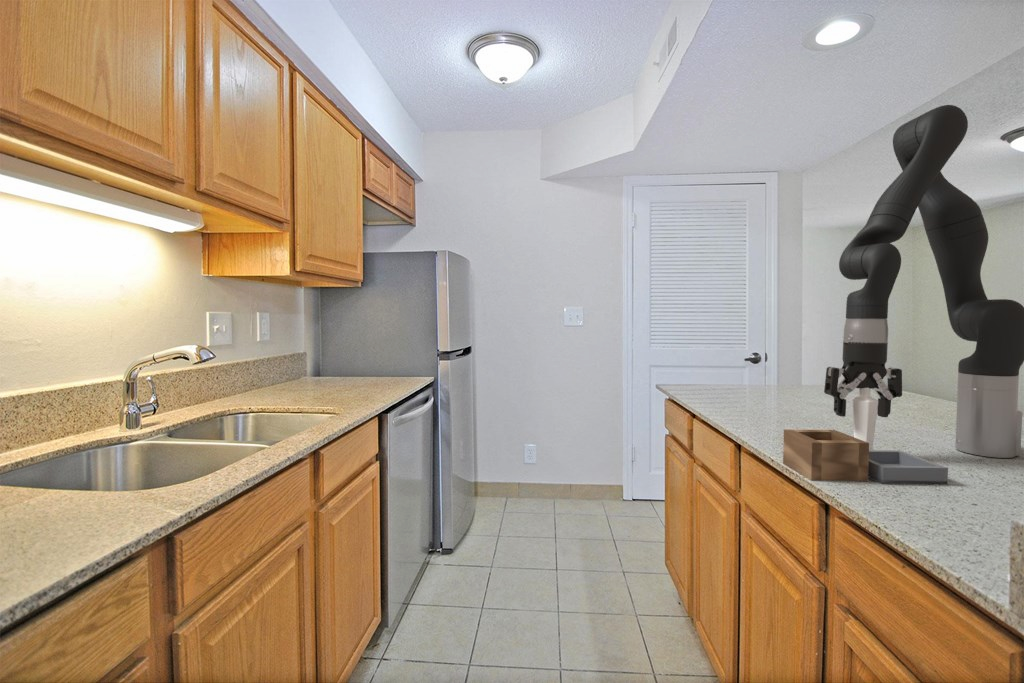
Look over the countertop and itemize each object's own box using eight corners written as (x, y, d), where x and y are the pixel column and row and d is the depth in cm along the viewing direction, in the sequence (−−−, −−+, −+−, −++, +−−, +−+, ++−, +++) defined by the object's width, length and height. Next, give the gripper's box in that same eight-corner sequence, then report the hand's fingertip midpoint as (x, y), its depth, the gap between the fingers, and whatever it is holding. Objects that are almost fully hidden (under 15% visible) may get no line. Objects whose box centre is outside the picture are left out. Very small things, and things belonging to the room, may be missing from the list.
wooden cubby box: (833, 463, 95) (834, 429, 95) (868, 480, 85) (869, 443, 85) (783, 463, 96) (783, 429, 95) (811, 480, 86) (812, 442, 85)
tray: (899, 465, 94) (900, 450, 94) (947, 484, 83) (948, 468, 83) (843, 464, 95) (843, 450, 94) (882, 483, 84) (883, 467, 83)
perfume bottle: (854, 459, 98) (856, 388, 97) (846, 453, 102) (848, 385, 102) (880, 460, 97) (882, 389, 96) (871, 454, 101) (873, 386, 100)
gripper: (887, 339, 102) (883, 413, 103) (819, 339, 103) (816, 412, 104) (914, 341, 94) (910, 421, 95) (841, 340, 95) (837, 419, 96)
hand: (861, 416), depth 99 cm, fingers open, 8 cm apart
